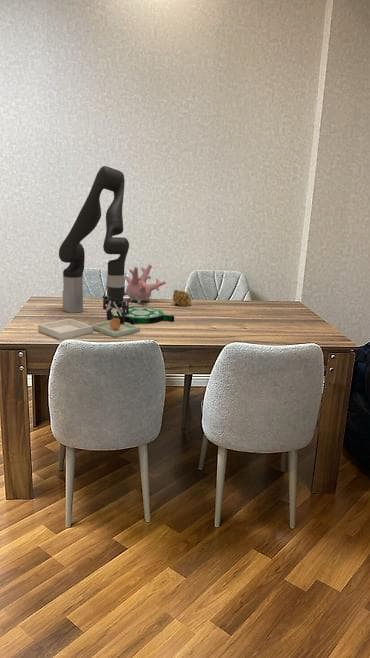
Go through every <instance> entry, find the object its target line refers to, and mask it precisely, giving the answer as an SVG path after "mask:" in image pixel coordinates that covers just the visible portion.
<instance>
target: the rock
mask: <svg viewBox="0 0 370 658" xmlns="http://www.w3.org/2000/svg"><path fill="white" fill-rule="evenodd" d="M172 301H173V302H174V303H175V305H178V306H180V307H181V306H182V307H189V306H190V305H191V303H192V299H191V298H190V295H189V293H188V292H186V291H185V290H178V289H174V290H173V296H172Z"/></svg>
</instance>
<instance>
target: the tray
mask: <svg viewBox="0 0 370 658" xmlns="http://www.w3.org/2000/svg"><path fill="white" fill-rule="evenodd" d="M110 321H111V320H107V321H103V322H98V323H94V324H93V323H92V324H90V325H91V326H93V331H96V332H98V333H100V332H101V334H103V333H104V335H106V334H107V336H110V337H112V338H114V337H115V338H119V337H124V336H128V335H132V334H136V333H140V332H141V326H137V325H136V324H134V325H132V324H130V323H127V322H125V323H124V324H121V327H120V328H119V329H113V328H111V326H110Z"/></svg>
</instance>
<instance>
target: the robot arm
mask: <svg viewBox="0 0 370 658" xmlns="http://www.w3.org/2000/svg"><path fill="white" fill-rule="evenodd" d="M103 190H108V191H111V192H113V199H112V202H111V203H110V205H109V206H108V208H107V210H106V214H105V225H106V226H105V229H106V233H105V237H104V241H103V247H102V249H103V251H104V253H105V254H106V255H119V256H118V257H117V258H115V259H111V260H109V261H108V262H107V276H106V295H105V296H103V298H102V299H103V300H102V301H103V302H102V309H103V310H105V312H106V320H107V321H111V319H112V312H113V310H115V309H117V311H118V312H119V314H120V324H124V323H126V322H125V315H128V314H129V306H130V305H129V302H130V301H129V300H124V297H125V292H126V279H125V277H126V276H125V266H126V258H127V255H128V252H129V249H130V242H129V240H128V238H126V237H119V236H118V235H121V234H123V232H124V219H123V205H124V204H123V203H124V195H125V194H124V193H125V175H124V172H122V171H121V170H118V169H116V168H114V167H113V168H112V167H110V166H107V165H102V166H101V167H100V168H99V170H98V171H97V174H96V176H95V177H94V181H93V184H92V186H91V189H90V190H89V193H88V196H87V198H86V200H85V201H84V203H83V205H82V207H81V209H80V211H79V212H78V215H77V217H76V219H75V221H74V223H73V225H72V227H71V229H70V230H69V232H68V234H67V235H66V237H65V238H64V240H63V241H62V242H61V245H60V247H59V249H58V258H59V260H60V261H61V262H63V263H67V264H68V263H69V264H68V266H67V267H66V268H64V269H63V271H62V277H63V278H62V283H63V285H62V288H63V289H62V311H64V312H65V313H69V314H71V313H72V314H74V313H82V312H83V311H84V285H83V284H84V278H83V277H84V275H83V274H84V271H85V258H86V257H85V255H86V253H85V248H84V246H83V244H82V243H81V242H82V241H83V240H84V239H85V238H86V237H88V236H89V235H90V234H91V233H92V232H93V231H95V229H96V227H97V225H98V223H99V222H100V219H101V217H102V207H101V202H100V198H101V193H102V192H103ZM115 236H116V237H115ZM117 236H118V237H117ZM120 308H121V309H120ZM125 310H126V312H125ZM121 311H122V312H123V313H122V312H121Z"/></svg>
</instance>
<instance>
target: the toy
mask: <svg viewBox="0 0 370 658" xmlns="http://www.w3.org/2000/svg"><path fill="white" fill-rule="evenodd" d="M152 266H153V265H151V264H148V266H147V267H146V268H144V267H143V266H142V267H141V268H140V270H141V272H142V273H141V276H139V268H138V266H134V269H133V270H132V269H129V273H130V274H131V275H132V277H130V276H124V277H125V281H126V282H127V283H128V284H127V286H126V288H125V296H128V297H129V302H131V303H132V302H133V301H136V303H137V304H141V303H142V302H143V301H146V302H149V301H150V297H151V295H152V292H153V291H154V290H156V291H160V289H159V288H160V287H161V286H163V285H166V284H167V283H166V281H165V280H164V281H160V280H159V278H157V279H156V280H155V283H152V284H148V283H147V280H150V279H152V276H151V275H150V272H151V270H152ZM125 296H124V297H125Z"/></svg>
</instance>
